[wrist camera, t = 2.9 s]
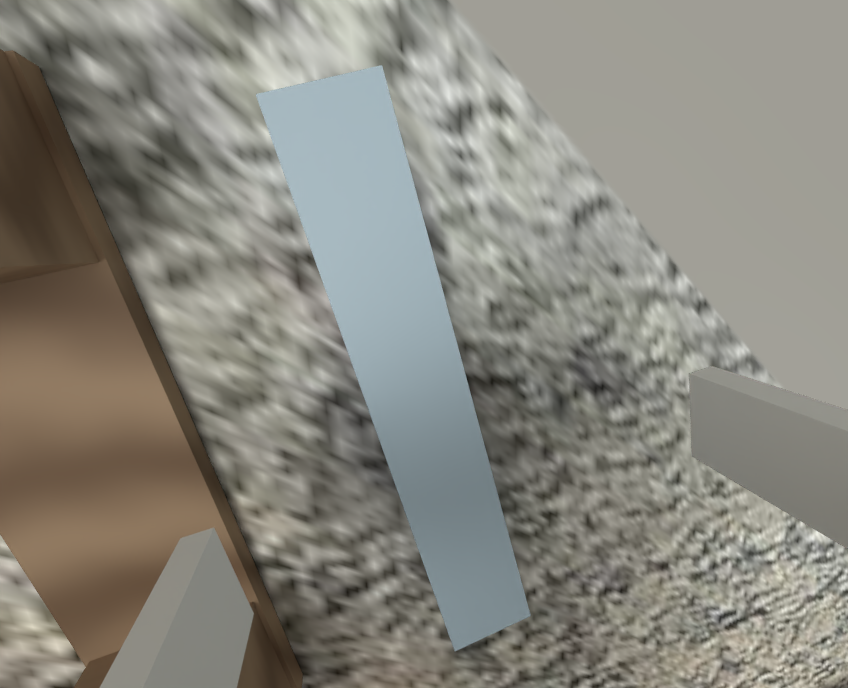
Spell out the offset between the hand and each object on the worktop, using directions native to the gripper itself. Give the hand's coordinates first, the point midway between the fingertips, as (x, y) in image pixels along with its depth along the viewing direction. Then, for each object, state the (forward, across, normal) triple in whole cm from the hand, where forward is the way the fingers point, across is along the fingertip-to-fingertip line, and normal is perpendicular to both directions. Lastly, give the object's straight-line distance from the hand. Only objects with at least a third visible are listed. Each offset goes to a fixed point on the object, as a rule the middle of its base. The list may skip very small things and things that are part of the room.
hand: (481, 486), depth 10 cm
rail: (+10, 0, 0) cm, 10 cm away
